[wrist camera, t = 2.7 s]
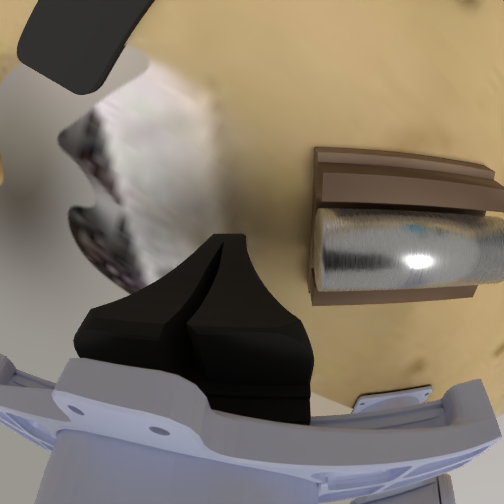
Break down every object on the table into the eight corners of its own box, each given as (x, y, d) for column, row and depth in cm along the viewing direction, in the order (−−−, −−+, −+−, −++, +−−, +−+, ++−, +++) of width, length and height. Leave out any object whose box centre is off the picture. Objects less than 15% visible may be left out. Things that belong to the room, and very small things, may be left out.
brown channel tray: (453, 277, 16) (469, 302, 14) (307, 281, 17) (311, 312, 15) (485, 165, 12) (511, 182, 10) (314, 146, 13) (323, 161, 11)
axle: (486, 206, 12) (523, 236, 9) (470, 260, 14) (499, 296, 11) (315, 196, 13) (329, 231, 10) (311, 262, 15) (320, 308, 12)
